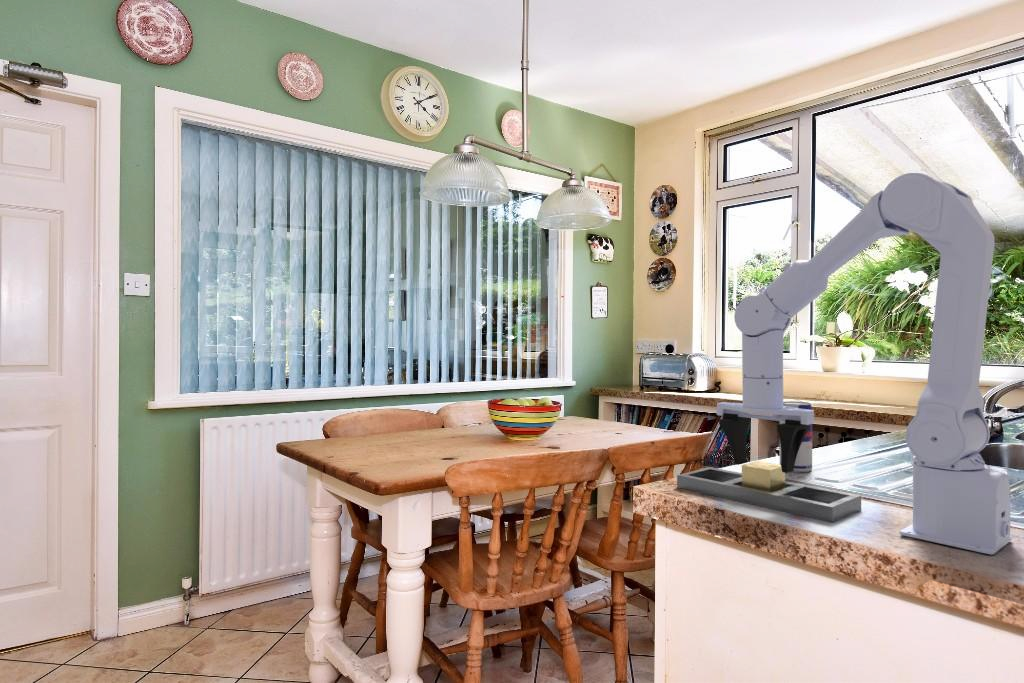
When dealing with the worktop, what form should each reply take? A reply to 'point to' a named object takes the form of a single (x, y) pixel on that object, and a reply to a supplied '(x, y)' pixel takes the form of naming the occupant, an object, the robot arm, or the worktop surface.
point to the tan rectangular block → (763, 476)
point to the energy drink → (805, 450)
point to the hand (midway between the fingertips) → (763, 467)
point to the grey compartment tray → (773, 494)
